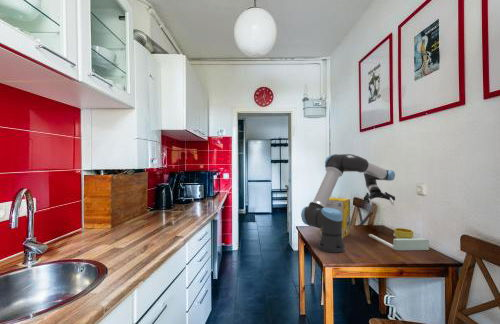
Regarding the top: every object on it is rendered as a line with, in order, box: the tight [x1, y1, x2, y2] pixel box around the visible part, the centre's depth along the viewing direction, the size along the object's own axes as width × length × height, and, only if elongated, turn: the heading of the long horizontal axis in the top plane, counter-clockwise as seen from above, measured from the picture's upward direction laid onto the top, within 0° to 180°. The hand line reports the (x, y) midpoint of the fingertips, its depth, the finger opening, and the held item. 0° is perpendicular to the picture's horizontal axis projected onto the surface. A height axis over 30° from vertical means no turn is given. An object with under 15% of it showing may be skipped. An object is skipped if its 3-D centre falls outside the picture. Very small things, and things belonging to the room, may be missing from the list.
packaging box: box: [319, 196, 351, 239], centre depth 192 cm, size 16×16×25 cm
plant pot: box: [393, 227, 414, 239], centre depth 166 cm, size 10×10×10 cm
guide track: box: [368, 233, 430, 251], centre depth 173 cm, size 32×20×6 cm, turn 4°
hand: (382, 203), depth 180 cm, fingers open, 13 cm apart
